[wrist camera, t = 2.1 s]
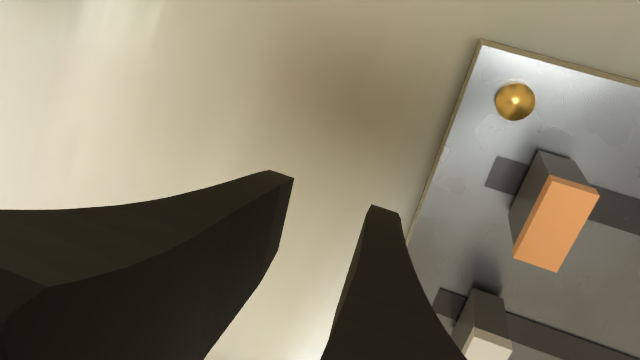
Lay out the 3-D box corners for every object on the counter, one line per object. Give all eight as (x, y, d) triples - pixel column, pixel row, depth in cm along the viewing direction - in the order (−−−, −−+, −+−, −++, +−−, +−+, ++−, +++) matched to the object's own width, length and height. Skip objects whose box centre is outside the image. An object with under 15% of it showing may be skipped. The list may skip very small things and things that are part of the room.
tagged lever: (577, 160, 15) (600, 195, 13) (542, 227, 17) (556, 272, 14) (537, 148, 16) (552, 180, 13) (505, 215, 17) (513, 258, 14)
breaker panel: (847, 137, 15) (909, 163, 13) (626, 417, 21) (645, 466, 19) (480, 38, 17) (482, 46, 15) (375, 323, 23) (366, 357, 21)
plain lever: (505, 298, 18) (512, 350, 15) (479, 347, 19) (482, 404, 17) (472, 286, 18) (473, 336, 16) (448, 336, 19) (446, 390, 17)
